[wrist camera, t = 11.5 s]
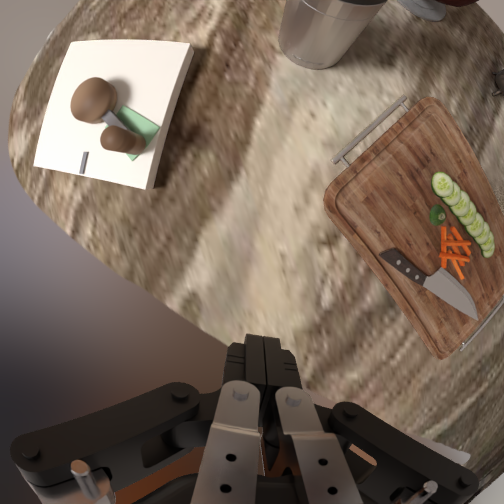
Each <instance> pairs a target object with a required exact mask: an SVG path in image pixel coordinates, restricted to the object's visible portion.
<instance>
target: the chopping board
mask: <svg viewBox="0 0 504 504" xmlns="http://www.w3.org/2000/svg"><path fill="white" fill-rule="evenodd" d="M406 99H407V98H406V96H405V95H402V96H401V97H400V98H399V99H397V100H396V101H395V102H394V103H393V104H392V105H391V106H390V107H388V108H387V109H386V110H385V111H384V112H383V113H382V114H381V115H380V116H378V117H377V118H376V119H375V120H374V121H373V122H372V123H371V124H369V125H368V126H367V127H366V128H365V129H364V130H363V131H362V132H361V133H359V134H358V135H357V136H356V137H355V138H354V139H353V140H352V141H351V142H349V143H348V144H347V145H346V146H345V147H344V148H343V149H342V150H341V151H340V152H338V153H337V154H336V155H335V156H334V157H333V158H332V159H331V162H332V163H333V164H335V163H337V162H338V161H339V160H341V161H342V162H343V164H344V165H345V166H346V167H347V168H346V169H345V170H344V171H343V172H342V173H341V174H340V175H339V176H338V177H336V178H335V179H334V180H333V181H332V182H331V183H330V185H329V186H328V188H327V189H326V191H325V195H324V199H323V201H324V209H325V211H326V213H327V215H328V216H329V218H330V219H331V220H332V222H333V223H334V224H335V225H336V226H337V228H338V229H339V230H340V231H341V232H342V234H343V235H344V236H345V237H346V238H347V240H348V241H349V242H350V243H351V245H352V246H353V247H354V248H355V249H356V251H357V252H358V253H359V254H360V256H361V257H362V258H363V259H364V261H365V262H366V263H367V265H368V266H369V267H370V268H371V270H372V271H373V272H374V274H375V275H376V276H377V278H378V279H379V280H380V281H381V283H382V284H383V285H384V287H385V288H386V289H387V291H388V292H389V293H390V295H391V296H392V298H393V299H394V300H395V302H396V303H397V304H398V306H399V307H400V309H401V310H402V311H403V313H404V314H405V316H406V317H407V318H408V320H409V321H410V323H411V324H412V326H413V327H414V328H415V330H416V331H417V333H418V334H419V336H420V337H421V339H422V340H423V342H424V343H425V345H426V346H427V348H428V349H429V351H430V352H431V354H432V355H433V356H434V357H435V358H436V359H438V360H442V359H444V358H447V357H448V356H450V355H451V354H452V353H453V352H454V351H455V350H456V349H457V348H458V347H459V346H460V345H461V344H462V345H463V346H462V347H461V348H460V349H459V350H460V352H462V350H463V349H464V348H465V347H466V346H467V345H468V344H469V343H470V342H471V341H472V340H473V339H474V338H475V337H476V335H477V334H478V333H479V332H480V331H481V330H482V329H483V327H484V326H485V325H486V324H487V323H488V322H489V320H490V319H491V318H492V317H493V316H494V314H495V313H496V312H497V311H498V309H499V308H500V307H501V305H502V304H503V303H504V216H503V214H502V211H501V209H500V206H499V204H498V201H497V199H496V197H495V194H494V192H493V190H492V188H491V186H490V183H489V181H488V179H487V177H486V175H485V173H484V171H483V169H482V167H481V165H480V163H479V161H478V159H477V158H476V156H475V154H474V152H473V150H472V149H471V147H470V145H469V143H468V142H467V140H466V138H465V136H464V135H463V133H462V132H461V130H460V128H459V127H458V125H457V124H456V122H455V120H454V119H453V117H452V116H451V114H450V113H449V111H448V110H447V108H446V107H445V106H444V105H443V104H442V103H441V101H439V100H438V99H436V98H434V97H425V98H423V99H421V100H419V101H418V102H417V103H416V104H415V105H414V106H413V107H412V108H411V109H410V110H408V109H407V107H406V106H405V105H404V104H403V102H404V101H405V100H406ZM399 105H401V106H402V107H403V109H404V110H405V111H406V113H405V114H404V115H403V116H402V117H401V118H400V119H399V120H398V121H397V122H396V123H395V124H393V125H392V126H391V127H390V128H389V129H388V130H387V131H386V132H385V133H384V134H383V135H382V136H381V137H380V138H378V139H377V140H376V141H375V142H374V143H373V144H372V145H371V146H370V147H369V148H368V149H367V150H366V151H364V152H363V153H362V154H361V155H360V156H359V157H358V158H357V159H356V160H355V161H354V162H353V163H352V164H350V165H349V164H348V163H347V161H346V160H345V159H344V158H343V156H344V155H345V154H346V153H347V152H349V151H350V150H351V149H352V148H353V147H354V146H355V145H356V144H357V143H358V142H360V141H361V140H362V139H363V138H364V137H365V136H366V135H367V134H368V133H369V132H370V131H372V130H373V129H374V128H375V127H376V126H377V125H378V124H379V123H380V122H381V121H383V120H384V119H385V118H386V117H387V116H388V115H389V114H390V113H391V112H393V111H394V110H395V109H396V108H397V107H398V106H399ZM502 296H503V299H502V300H501V302H500V303H499V304H498V306H497V307H496V308H495V309H494V311H493V312H492V313H491V314H490V315H489V317H488V318H487V319H486V320H485V321H484V323H483V324H482V325H481V326H480V327H479V328H478V330H477V331H476V332H475V333H474V334H473V335H472V336H471V337H470V338H469V339H468V341H467V342H466V343H464V341H465V340H466V339H467V337H468V336H469V335H470V334H471V333H472V332H473V331H474V330H475V329H476V327H477V326H478V325H479V324H480V323H481V322H482V321H483V319H484V318H485V317H486V316H487V315H488V313H489V312H490V311H491V310H492V309H493V307H494V306H495V305H496V303H497V302H498V301H499V300H500V298H501V297H502Z"/></svg>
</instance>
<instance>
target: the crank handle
mask: <svg viewBox="0 0 504 504" xmlns="http://www.w3.org/2000/svg"><path fill="white" fill-rule="evenodd" d="M116 102H117V92H116V89H115V87H114V86H113V85H112V84H110V83H109V82H107V81H105V80H104V79H102V78H100V77H92V78H89V79H87V80H85V81H84V82H82V83H81V84H80V85H79V86H78V87H77V89H76V90H75V92H74V94H73V96H72V99H71V104H70V108H71V113H72V115H73V116H74V118H75V119H77V120H79V121H82V122H86V123H89V124H97V123H100V122H102V121H105V123H106V124H107V125H108V127H107V128H105V129H104V130H103V132H102V134H101V137H100V143H101V146H102V147H103V148H104V149H106V150H109V151H115V152H120V153H126V154H131V155H138V154H140V153H142V152H143V151H144V149H145V146H146V141H145V138H144V137H143V136H142V135H139V134H137V133H134V132H132V131H131V130H130V129H129V128H128V127H127V126H126V125H125V124H124V123H123V122H122V121H121V120H120V119H119V117H118V116H117V115H116V114H115V113H114V112H113V110H114V108H115V106H116Z"/></svg>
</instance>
